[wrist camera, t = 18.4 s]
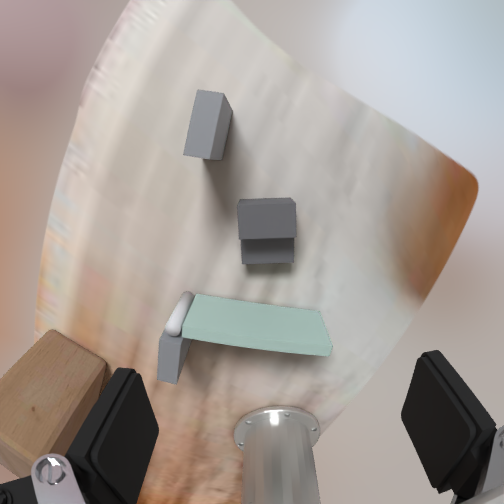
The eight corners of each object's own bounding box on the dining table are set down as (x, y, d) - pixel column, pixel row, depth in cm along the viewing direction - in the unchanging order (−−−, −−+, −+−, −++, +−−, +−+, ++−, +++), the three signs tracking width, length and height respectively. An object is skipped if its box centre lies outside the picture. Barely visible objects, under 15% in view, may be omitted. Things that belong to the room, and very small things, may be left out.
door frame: (191, 341, 35) (176, 384, 27) (175, 337, 35) (157, 379, 27) (232, 110, 28) (223, 93, 20) (212, 107, 28) (197, 89, 20)
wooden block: (109, 359, 37) (41, 469, 17) (99, 400, 39) (46, 497, 20) (51, 324, 35) (-34, 410, 16) (47, 369, 38) (-18, 451, 19)
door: (181, 301, 33) (164, 334, 26) (182, 290, 33) (165, 321, 26) (316, 321, 34) (329, 357, 27) (319, 310, 33) (333, 345, 26)
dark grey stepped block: (240, 199, 31) (237, 205, 26) (290, 197, 30) (295, 203, 26) (243, 256, 32) (240, 271, 28) (291, 255, 32) (296, 269, 28)
